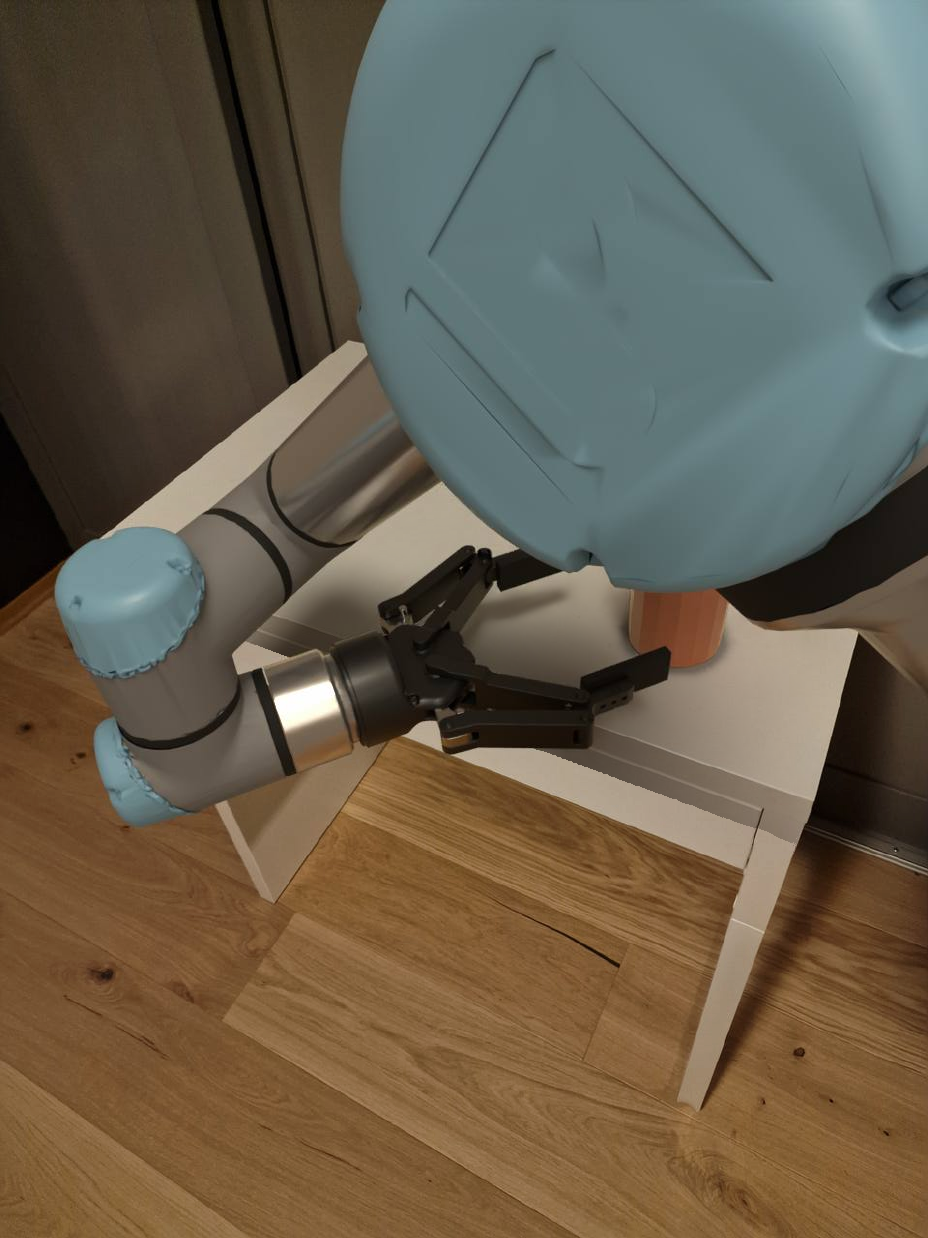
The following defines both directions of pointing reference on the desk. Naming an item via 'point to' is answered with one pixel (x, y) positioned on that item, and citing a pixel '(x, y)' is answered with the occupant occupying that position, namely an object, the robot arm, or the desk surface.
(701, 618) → the cup
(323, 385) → the desk surface
